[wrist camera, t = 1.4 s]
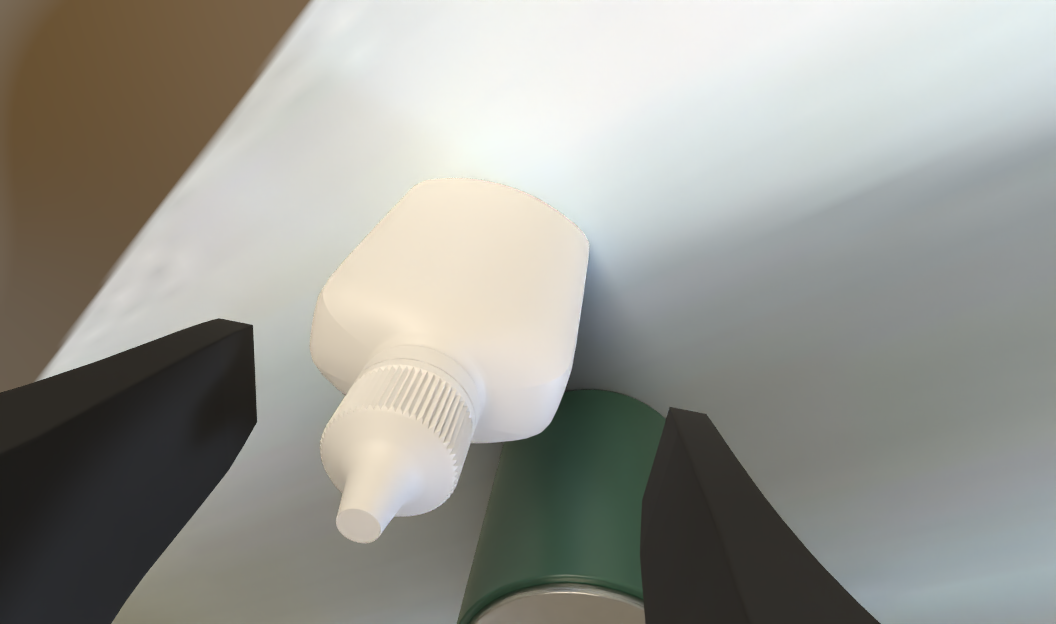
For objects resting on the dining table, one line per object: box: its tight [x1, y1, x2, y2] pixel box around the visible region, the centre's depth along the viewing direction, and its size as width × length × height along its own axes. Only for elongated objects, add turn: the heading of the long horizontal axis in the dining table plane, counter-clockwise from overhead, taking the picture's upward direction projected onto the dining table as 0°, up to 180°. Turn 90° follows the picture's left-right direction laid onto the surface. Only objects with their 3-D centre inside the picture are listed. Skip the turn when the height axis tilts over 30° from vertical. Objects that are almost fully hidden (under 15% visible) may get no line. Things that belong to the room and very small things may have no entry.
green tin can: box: [457, 390, 666, 624], centre depth 20 cm, size 7×7×8 cm
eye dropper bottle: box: [310, 178, 589, 543], centre depth 15 cm, size 4×6×12 cm
